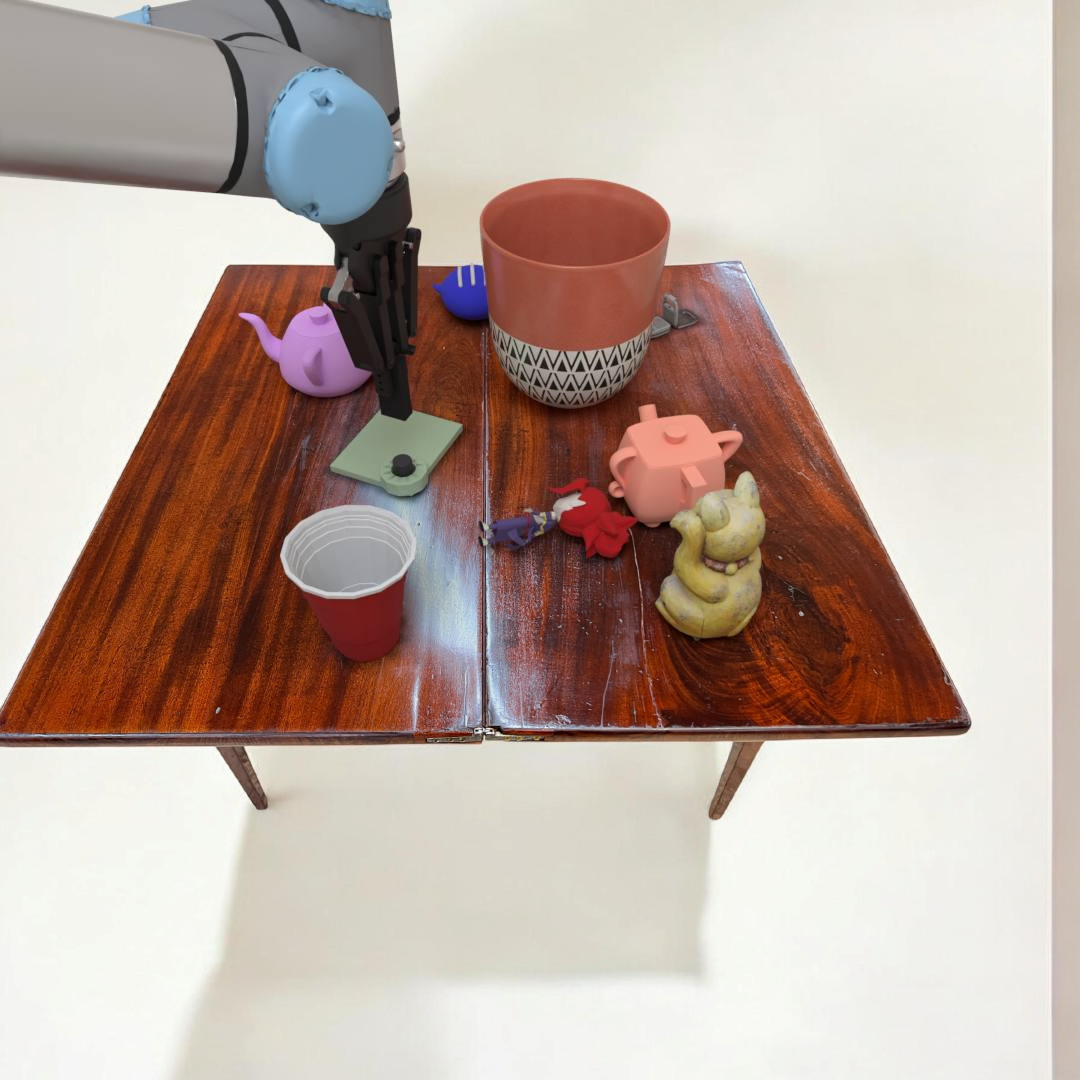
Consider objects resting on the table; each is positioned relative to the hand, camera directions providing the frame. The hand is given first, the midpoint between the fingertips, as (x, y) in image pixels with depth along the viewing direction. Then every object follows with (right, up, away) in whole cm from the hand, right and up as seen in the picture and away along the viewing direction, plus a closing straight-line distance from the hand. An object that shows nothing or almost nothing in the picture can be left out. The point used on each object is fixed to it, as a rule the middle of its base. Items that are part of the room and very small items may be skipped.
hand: (397, 413), depth 84 cm
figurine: (+16, -13, +1) cm, 21 cm away
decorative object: (+5, +18, +31) cm, 36 cm away
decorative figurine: (+30, -19, -5) cm, 36 cm away
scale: (-2, -2, +11) cm, 11 cm away
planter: (+17, +5, +19) cm, 26 cm away
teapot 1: (-12, +8, +21) cm, 25 cm away
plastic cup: (-1, -21, -6) cm, 22 cm away
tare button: (0, -5, +5) cm, 7 cm away
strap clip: (+31, +16, +29) cm, 45 cm away
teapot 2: (+27, -8, +6) cm, 29 cm away
